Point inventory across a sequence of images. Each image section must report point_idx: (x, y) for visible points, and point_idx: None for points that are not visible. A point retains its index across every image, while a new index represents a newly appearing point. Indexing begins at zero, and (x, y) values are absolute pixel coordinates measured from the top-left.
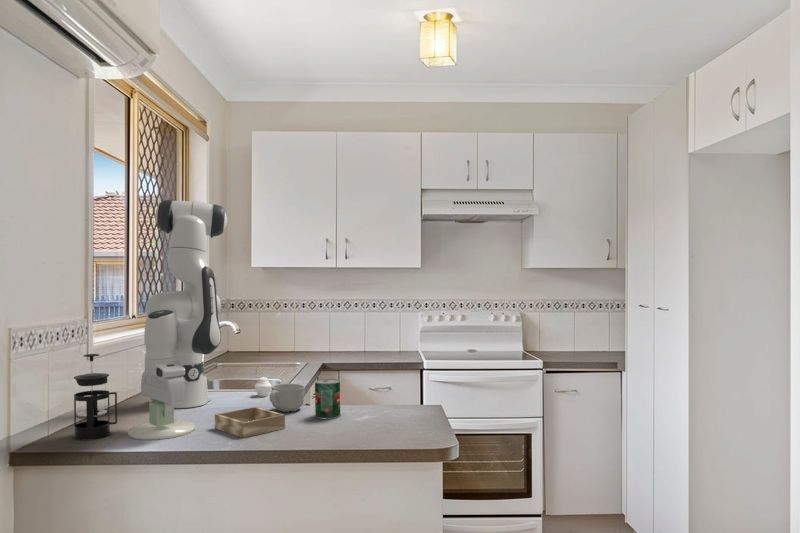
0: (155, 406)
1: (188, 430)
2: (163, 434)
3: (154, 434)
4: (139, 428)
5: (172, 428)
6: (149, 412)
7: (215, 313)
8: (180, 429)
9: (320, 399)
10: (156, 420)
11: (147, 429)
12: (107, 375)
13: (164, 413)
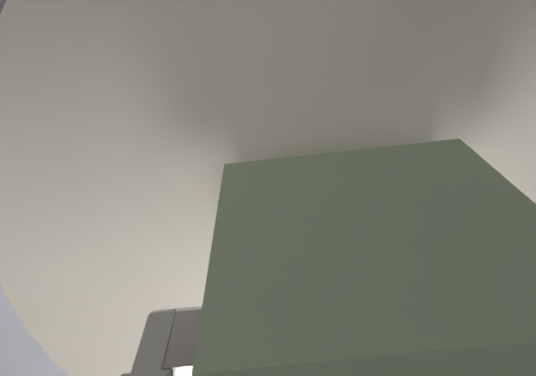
0: (275, 334)
1: (71, 372)
2: (19, 147)
3: (79, 65)
4: (522, 15)
5: None
6: (529, 205)
7: None
8: (138, 333)
9: None
10: (242, 193)
11: (388, 78)
12: None
13: (158, 345)
